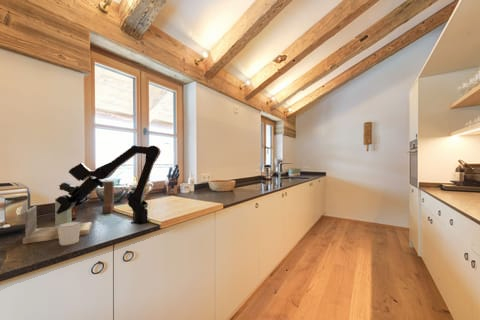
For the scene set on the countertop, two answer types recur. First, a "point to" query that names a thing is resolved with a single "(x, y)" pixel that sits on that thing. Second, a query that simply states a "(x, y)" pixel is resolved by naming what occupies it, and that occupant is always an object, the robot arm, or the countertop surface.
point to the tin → (74, 212)
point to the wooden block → (108, 197)
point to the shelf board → (45, 229)
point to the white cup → (68, 233)
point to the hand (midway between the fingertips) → (60, 212)
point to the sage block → (62, 215)
